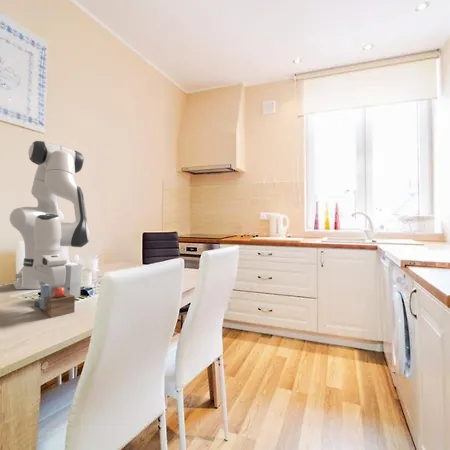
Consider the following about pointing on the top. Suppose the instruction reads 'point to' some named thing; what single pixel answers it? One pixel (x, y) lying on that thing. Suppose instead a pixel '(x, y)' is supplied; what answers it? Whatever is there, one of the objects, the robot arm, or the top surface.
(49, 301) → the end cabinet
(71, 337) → the top surface
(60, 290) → the button
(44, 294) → the light blue stepped block
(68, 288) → the skincare box
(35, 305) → the rail
